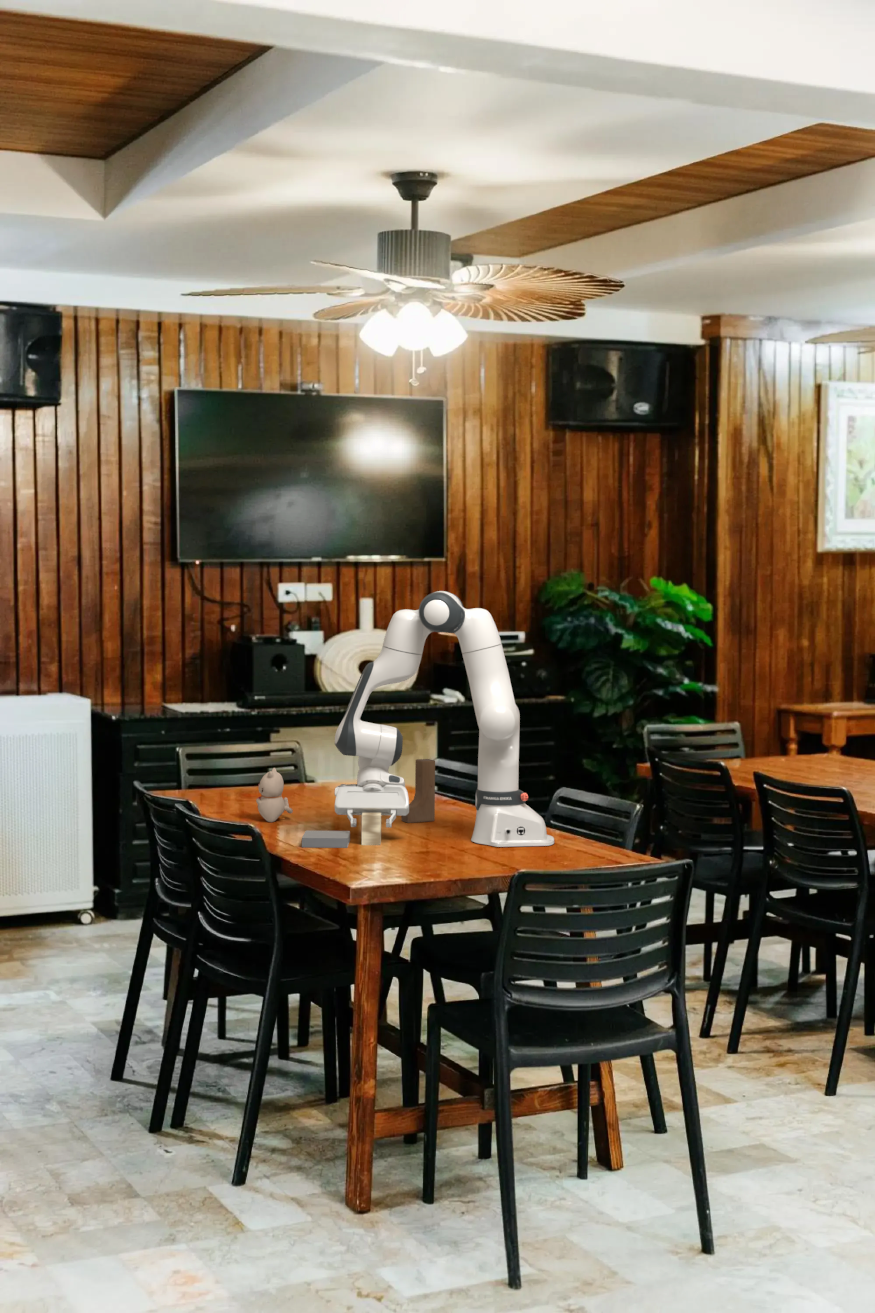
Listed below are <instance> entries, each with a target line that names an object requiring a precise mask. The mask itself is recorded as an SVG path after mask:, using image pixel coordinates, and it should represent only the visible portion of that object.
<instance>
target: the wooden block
mask: <svg viewBox="0 0 875 1313" xmlns="http://www.w3.org/2000/svg"><path fill="white" fill-rule="evenodd" d="M414 776H415V780H414V782H415V783H414V784H415V785H414V789H415V790H414V797H413V800H411V802H409V813H408V814H407V815H406V816H400V818H401V821H402V822H404V823H407V824H414V823H415V824H416V823H428V822H434V821H435V820H436V819H435V816H436V814H435V811H436V807H435V806H436V805H435V803H436V797H435V796H436V792H435V791H436V790H435V789H436V760H434V759H431V758H420V759H419V758H418V759H415V775H414Z"/></svg>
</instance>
